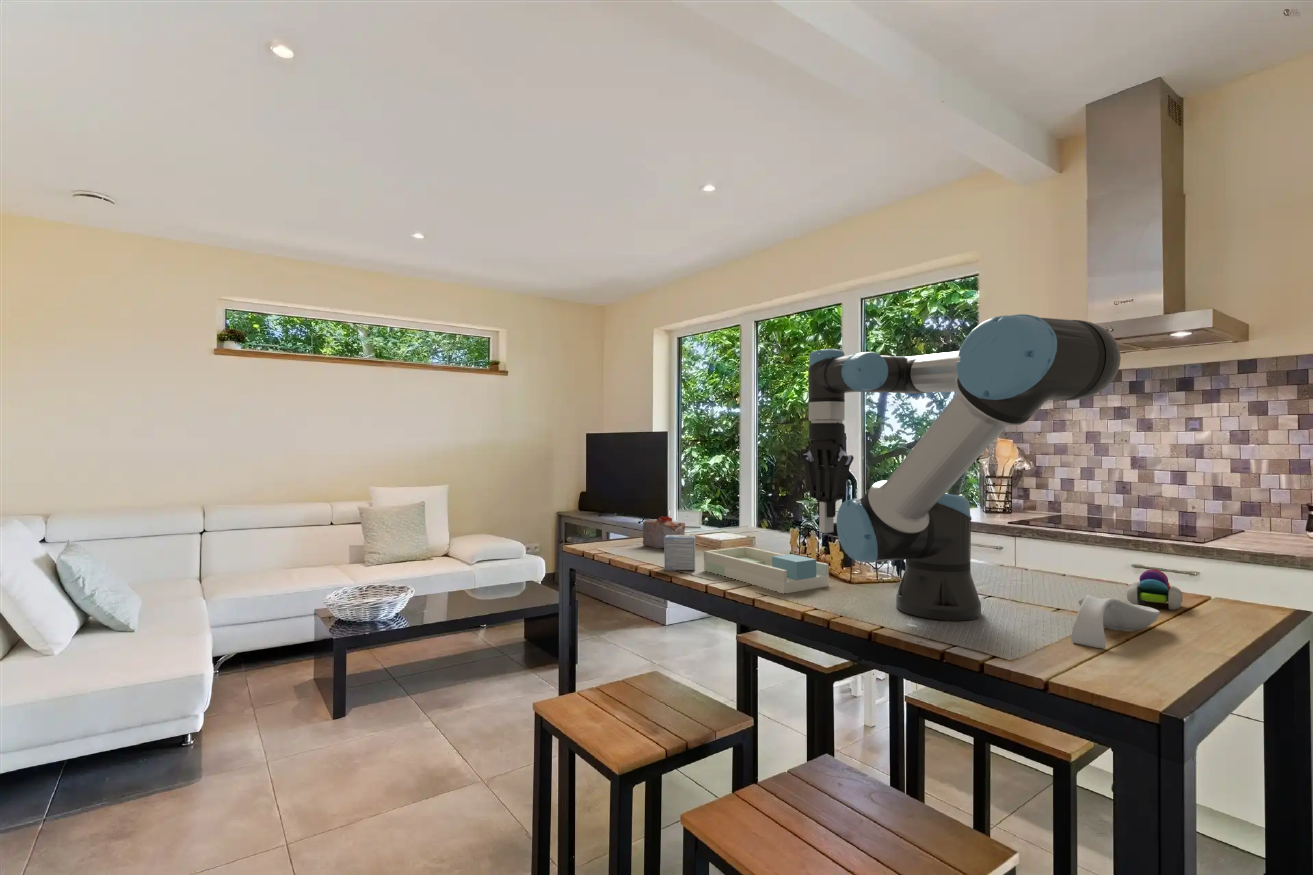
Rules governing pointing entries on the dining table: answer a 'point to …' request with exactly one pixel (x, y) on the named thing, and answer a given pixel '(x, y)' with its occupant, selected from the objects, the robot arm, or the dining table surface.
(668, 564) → the grey upright rectangular block
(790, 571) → the block
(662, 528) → the gift box with bow
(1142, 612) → the spoon rest
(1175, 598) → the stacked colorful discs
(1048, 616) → the dining table surface
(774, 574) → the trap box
